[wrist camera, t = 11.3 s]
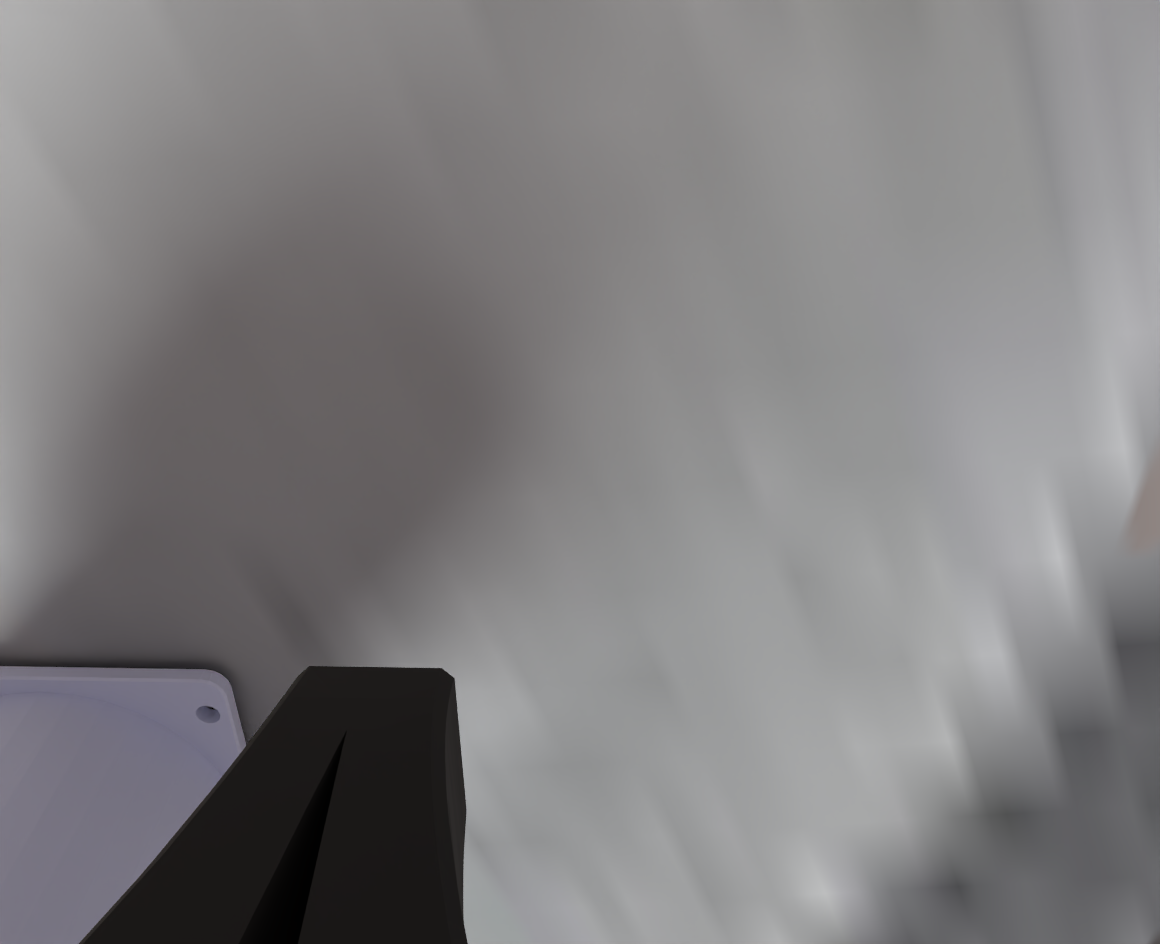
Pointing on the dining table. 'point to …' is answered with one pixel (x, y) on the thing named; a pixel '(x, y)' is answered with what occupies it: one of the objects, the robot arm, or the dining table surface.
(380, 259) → the dining table surface
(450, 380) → the dining table surface
